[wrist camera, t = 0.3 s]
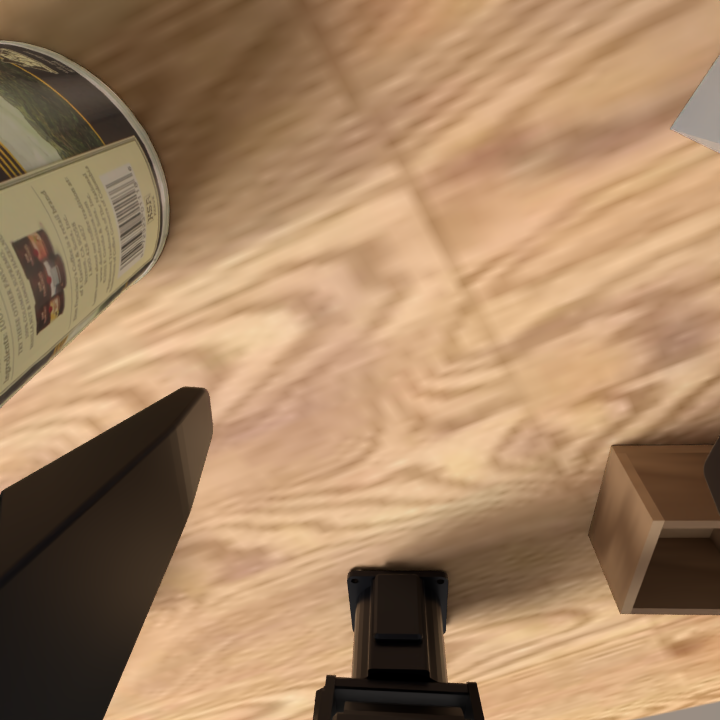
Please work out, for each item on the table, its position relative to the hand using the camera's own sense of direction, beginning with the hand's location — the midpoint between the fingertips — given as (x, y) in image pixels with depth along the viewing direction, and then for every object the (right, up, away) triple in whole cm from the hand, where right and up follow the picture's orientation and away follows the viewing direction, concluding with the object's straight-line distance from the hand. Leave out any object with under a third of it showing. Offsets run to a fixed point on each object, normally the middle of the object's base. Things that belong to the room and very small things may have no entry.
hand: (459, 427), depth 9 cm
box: (+15, -6, +19) cm, 26 cm away
